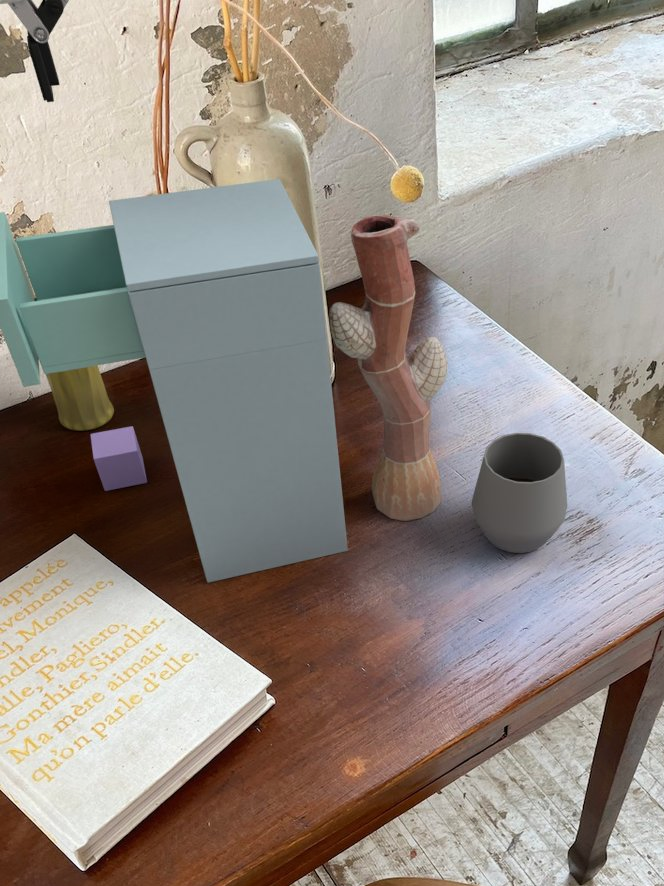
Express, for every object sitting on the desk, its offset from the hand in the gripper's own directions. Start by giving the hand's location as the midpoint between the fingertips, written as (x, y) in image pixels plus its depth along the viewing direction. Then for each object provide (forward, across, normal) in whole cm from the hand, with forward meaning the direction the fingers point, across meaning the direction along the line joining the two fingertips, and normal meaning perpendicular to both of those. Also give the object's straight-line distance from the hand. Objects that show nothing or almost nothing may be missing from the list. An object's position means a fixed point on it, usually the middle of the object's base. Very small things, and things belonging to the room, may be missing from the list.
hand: (0, 98), depth 70 cm
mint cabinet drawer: (+13, -1, +12) cm, 18 cm away
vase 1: (+38, +3, -12) cm, 40 cm away
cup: (+38, -37, +22) cm, 57 cm away
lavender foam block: (+38, 0, 0) cm, 38 cm away
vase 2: (+38, -27, +13) cm, 48 cm away
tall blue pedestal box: (+38, -13, +12) cm, 42 cm away
